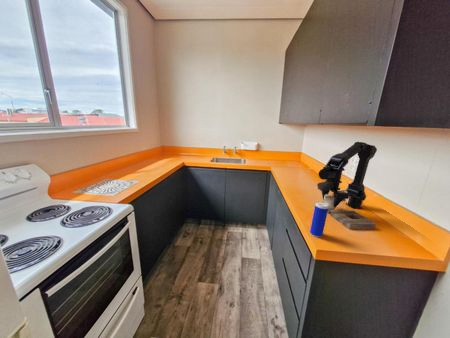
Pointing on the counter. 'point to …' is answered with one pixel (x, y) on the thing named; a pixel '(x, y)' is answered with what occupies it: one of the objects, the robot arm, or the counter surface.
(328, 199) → the beech leg
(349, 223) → the socket board
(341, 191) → the robot arm
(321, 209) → the beverage can
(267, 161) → the counter surface
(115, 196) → the counter surface
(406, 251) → the counter surface
